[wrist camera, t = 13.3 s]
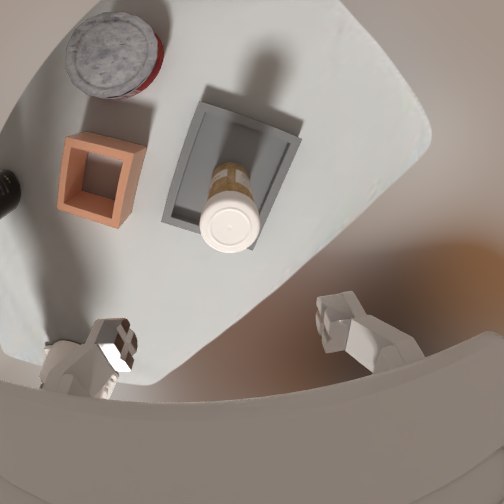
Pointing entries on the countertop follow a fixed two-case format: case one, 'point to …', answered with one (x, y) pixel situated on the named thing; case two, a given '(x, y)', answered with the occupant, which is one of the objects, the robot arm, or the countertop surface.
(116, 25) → the canned food
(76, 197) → the terracotta holder
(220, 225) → the sprinkles bottle
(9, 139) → the countertop surface
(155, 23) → the countertop surface
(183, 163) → the charcoal tray
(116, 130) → the countertop surface
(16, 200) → the supplement bottle
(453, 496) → the robot arm
